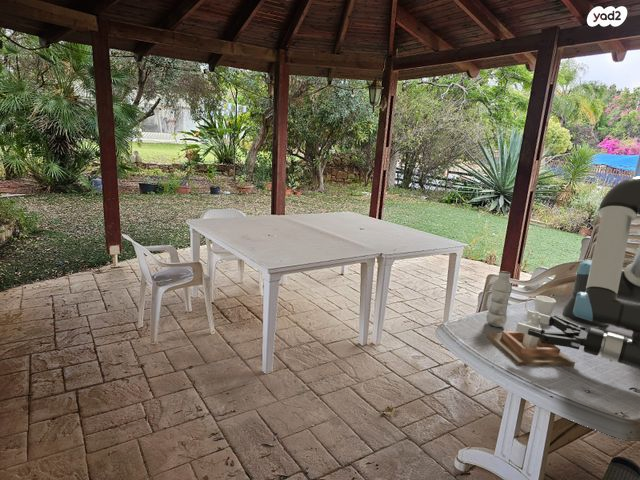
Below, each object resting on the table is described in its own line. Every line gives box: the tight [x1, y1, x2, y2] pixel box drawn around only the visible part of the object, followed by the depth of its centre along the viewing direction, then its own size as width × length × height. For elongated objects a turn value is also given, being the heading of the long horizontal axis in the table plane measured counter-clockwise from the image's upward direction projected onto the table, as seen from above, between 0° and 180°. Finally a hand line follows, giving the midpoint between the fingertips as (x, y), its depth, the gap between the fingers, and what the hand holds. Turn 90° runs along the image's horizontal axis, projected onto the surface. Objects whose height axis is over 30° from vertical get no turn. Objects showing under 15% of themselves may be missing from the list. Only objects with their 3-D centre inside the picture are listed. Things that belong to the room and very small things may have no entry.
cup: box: [524, 295, 557, 317], centre depth 154 cm, size 7×10×8 cm
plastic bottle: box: [486, 270, 513, 328], centre depth 143 cm, size 6×7×20 cm
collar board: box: [486, 330, 576, 367], centre depth 127 cm, size 18×18×4 cm
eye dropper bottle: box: [522, 311, 542, 347], centre depth 126 cm, size 4×6×12 cm
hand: (522, 320), depth 128 cm, fingers open, 13 cm apart
